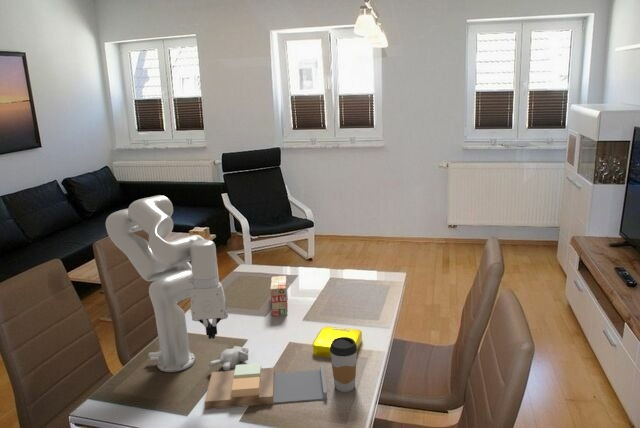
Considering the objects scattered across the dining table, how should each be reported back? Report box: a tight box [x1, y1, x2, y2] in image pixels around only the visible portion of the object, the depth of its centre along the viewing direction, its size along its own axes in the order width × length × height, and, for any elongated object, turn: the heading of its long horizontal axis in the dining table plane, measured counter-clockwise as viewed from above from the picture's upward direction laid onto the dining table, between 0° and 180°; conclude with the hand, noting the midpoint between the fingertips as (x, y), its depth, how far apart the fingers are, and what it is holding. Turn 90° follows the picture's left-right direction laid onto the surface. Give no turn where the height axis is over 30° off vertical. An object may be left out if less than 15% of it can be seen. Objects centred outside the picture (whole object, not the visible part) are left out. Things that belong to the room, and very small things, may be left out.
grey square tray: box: [272, 363, 328, 405], centre depth 162 cm, size 16×16×2 cm
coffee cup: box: [330, 337, 357, 393], centre depth 159 cm, size 8×8×15 cm
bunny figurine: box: [208, 345, 249, 371], centre depth 176 cm, size 10×5×15 cm
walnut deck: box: [204, 367, 275, 410], centre depth 161 cm, size 20×16×2 cm
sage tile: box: [234, 362, 262, 380], centre depth 164 cm, size 8×6×2 cm
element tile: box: [312, 326, 363, 358], centre depth 184 cm, size 15×15×5 cm
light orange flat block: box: [232, 377, 260, 397], centre depth 156 cm, size 8×6×2 cm
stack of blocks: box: [270, 275, 289, 317], centre depth 221 cm, size 21×6×12 cm, turn 3°
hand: (212, 336), depth 160 cm, fingers closed
